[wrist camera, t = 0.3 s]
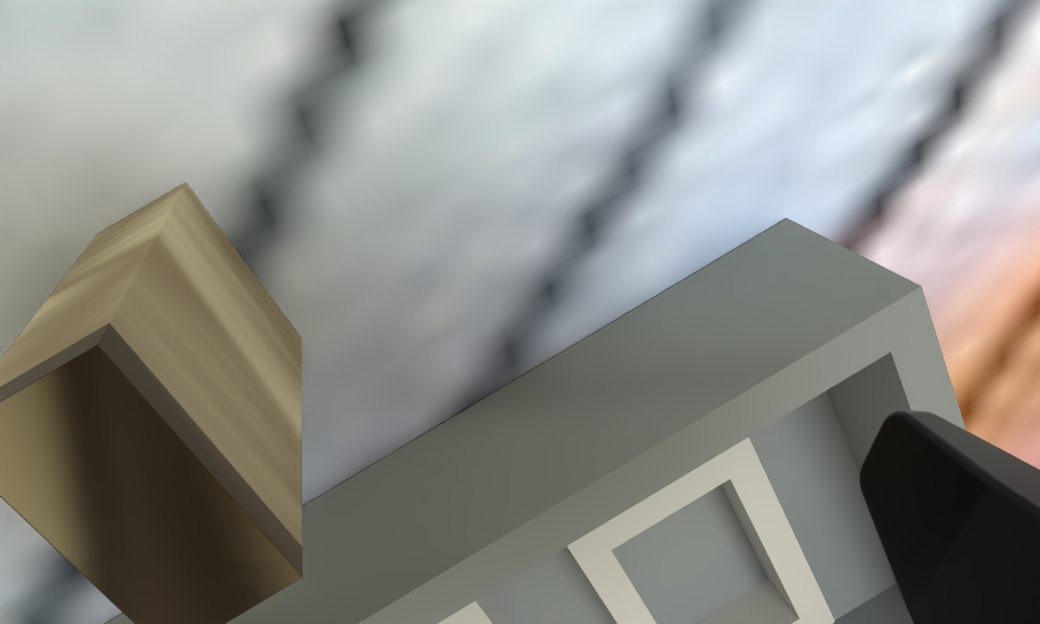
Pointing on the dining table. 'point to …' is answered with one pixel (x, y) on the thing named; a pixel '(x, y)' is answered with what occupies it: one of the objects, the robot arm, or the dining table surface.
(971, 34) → the dining table surface
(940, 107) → the dining table surface
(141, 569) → the tall wooden brick
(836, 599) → the grey storage tray
